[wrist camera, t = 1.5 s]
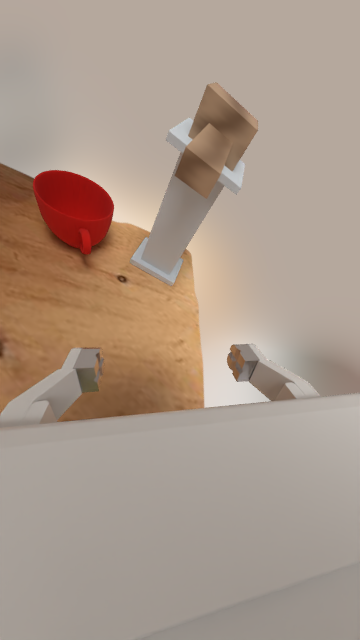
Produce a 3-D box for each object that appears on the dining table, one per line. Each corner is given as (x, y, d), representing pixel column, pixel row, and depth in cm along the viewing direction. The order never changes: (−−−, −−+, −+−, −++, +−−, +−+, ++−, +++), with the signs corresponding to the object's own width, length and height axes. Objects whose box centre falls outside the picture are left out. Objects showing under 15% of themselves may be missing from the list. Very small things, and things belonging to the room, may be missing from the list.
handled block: (157, 163, 18) (178, 91, 14) (198, 126, 30) (216, 82, 26) (221, 210, 20) (256, 158, 16) (236, 157, 32) (258, 121, 28)
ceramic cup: (49, 275, 34) (39, 232, 26) (39, 212, 39) (29, 160, 31) (117, 274, 41) (126, 241, 33) (102, 221, 46) (106, 181, 38)
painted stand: (127, 265, 44) (168, 130, 23) (145, 239, 50) (189, 117, 30) (170, 289, 47) (241, 188, 26) (182, 261, 53) (245, 164, 33)
